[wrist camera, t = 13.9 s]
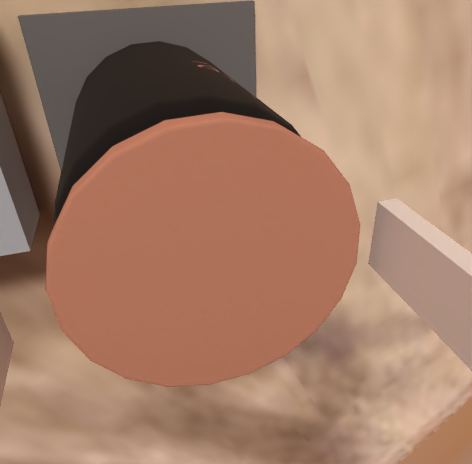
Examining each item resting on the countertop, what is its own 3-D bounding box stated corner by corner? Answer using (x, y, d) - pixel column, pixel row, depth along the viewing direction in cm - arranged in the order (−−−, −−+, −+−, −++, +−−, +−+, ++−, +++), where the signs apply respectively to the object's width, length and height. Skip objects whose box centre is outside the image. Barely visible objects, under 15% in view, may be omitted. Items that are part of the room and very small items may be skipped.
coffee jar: (247, 168, 33) (369, 329, 18) (112, 213, 31) (121, 424, 17) (212, 17, 27) (351, 68, 12) (44, 66, 26) (-35, 190, 11)
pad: (77, 224, 32) (77, 228, 31) (19, 15, 25) (18, 16, 24) (255, 195, 35) (257, 198, 34) (251, 0, 27) (254, 1, 27)
